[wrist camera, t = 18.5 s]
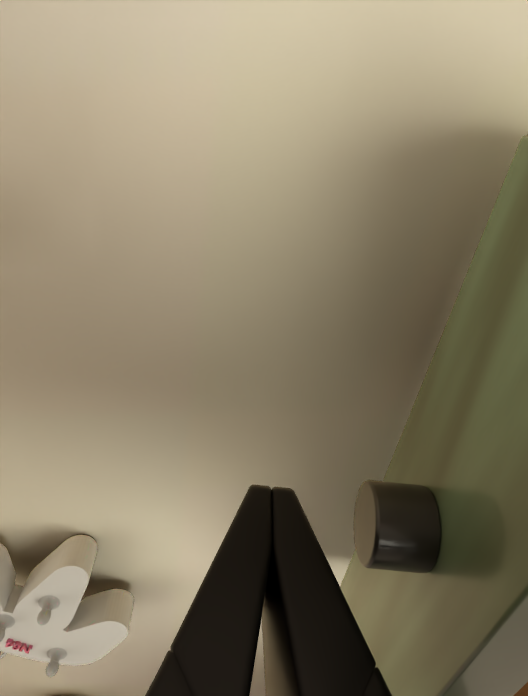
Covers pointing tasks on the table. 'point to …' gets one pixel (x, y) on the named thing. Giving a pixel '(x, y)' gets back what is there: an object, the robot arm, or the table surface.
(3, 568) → the game controller
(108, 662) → the table surface
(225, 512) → the table surface
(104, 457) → the table surface
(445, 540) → the drawer
